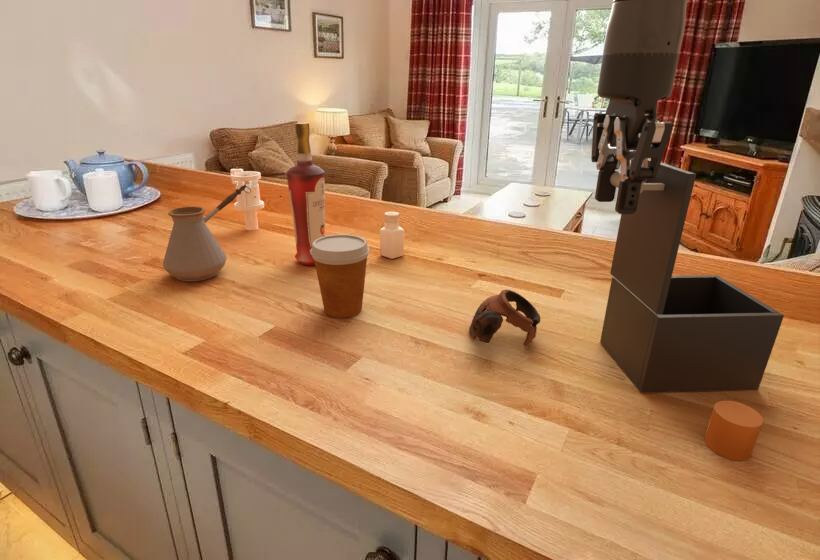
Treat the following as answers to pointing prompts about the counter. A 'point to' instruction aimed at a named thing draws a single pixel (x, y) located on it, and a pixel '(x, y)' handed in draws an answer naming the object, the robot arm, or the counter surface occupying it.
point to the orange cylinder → (733, 430)
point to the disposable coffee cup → (341, 272)
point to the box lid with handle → (652, 234)
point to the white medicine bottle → (391, 236)
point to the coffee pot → (194, 243)
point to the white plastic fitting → (248, 196)
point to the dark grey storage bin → (691, 336)
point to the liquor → (306, 197)
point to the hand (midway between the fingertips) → (614, 206)
